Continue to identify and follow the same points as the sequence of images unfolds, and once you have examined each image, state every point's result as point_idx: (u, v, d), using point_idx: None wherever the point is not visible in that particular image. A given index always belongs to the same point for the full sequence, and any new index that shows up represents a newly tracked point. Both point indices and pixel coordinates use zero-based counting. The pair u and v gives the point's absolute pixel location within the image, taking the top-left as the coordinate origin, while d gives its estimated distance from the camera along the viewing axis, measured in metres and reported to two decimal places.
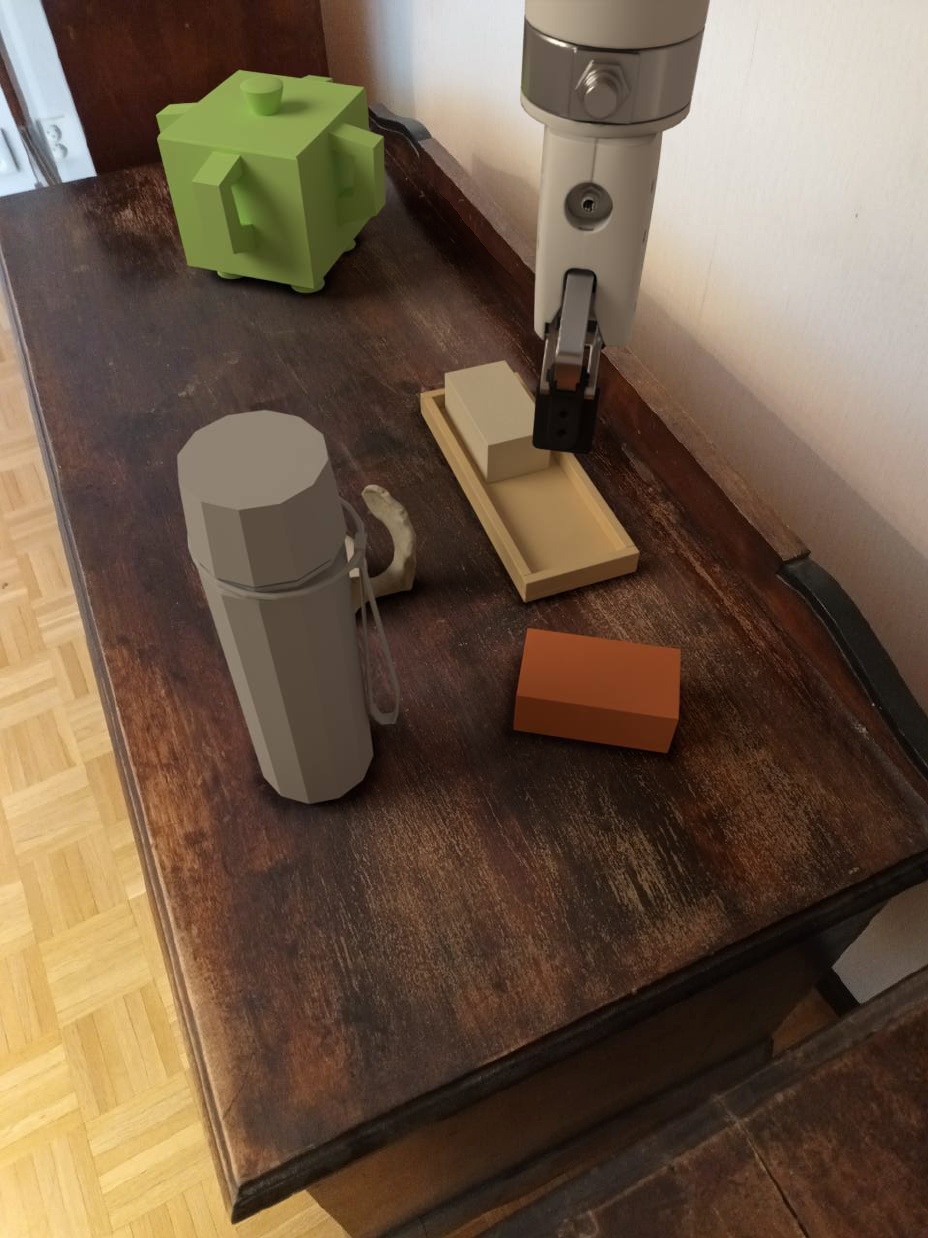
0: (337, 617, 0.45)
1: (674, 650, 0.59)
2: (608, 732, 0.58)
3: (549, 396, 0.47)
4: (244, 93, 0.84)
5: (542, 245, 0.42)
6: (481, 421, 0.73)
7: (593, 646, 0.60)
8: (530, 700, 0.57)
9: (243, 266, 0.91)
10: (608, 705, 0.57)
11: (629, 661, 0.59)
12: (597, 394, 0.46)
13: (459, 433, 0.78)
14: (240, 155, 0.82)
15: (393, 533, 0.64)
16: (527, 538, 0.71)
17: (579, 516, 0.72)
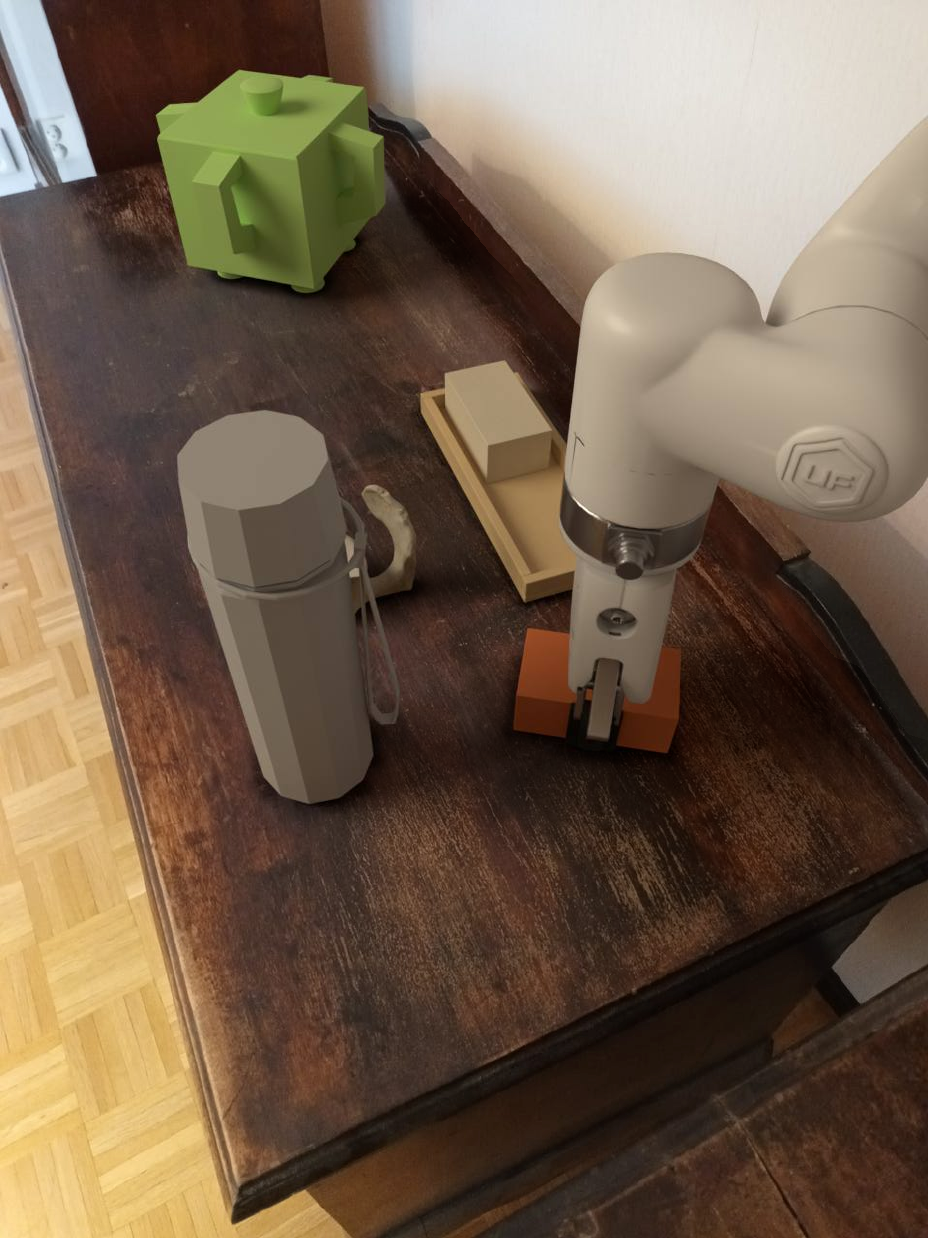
0: (337, 617, 0.45)
1: (674, 650, 0.59)
2: None
3: None
4: (244, 93, 0.84)
5: (577, 640, 0.49)
6: (481, 421, 0.73)
7: None
8: (530, 700, 0.57)
9: (243, 266, 0.91)
10: None
11: None
12: (621, 717, 0.56)
13: (459, 433, 0.78)
14: (240, 156, 0.82)
15: (393, 534, 0.64)
16: (527, 538, 0.71)
17: None
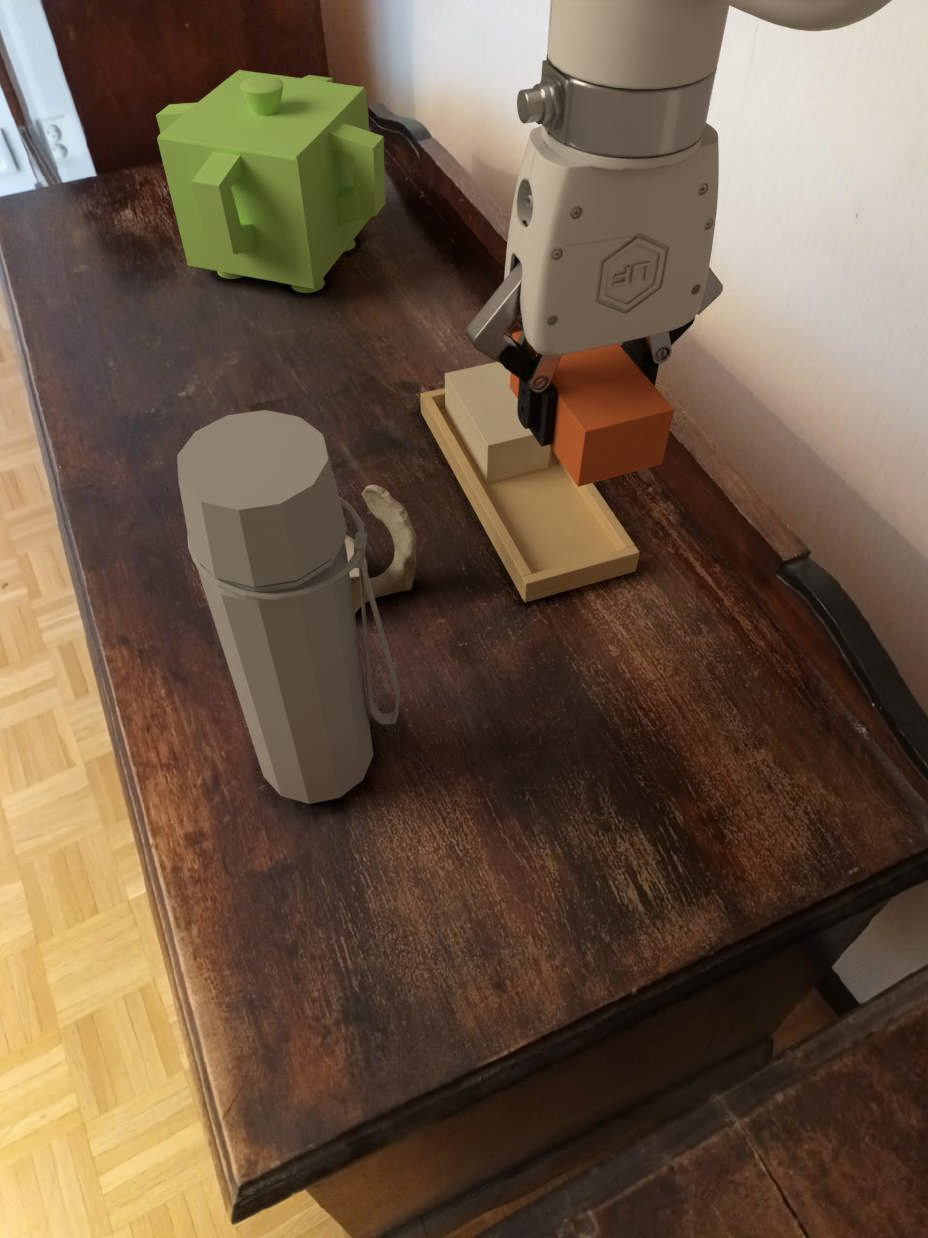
0: (337, 617, 0.45)
1: (667, 405, 0.51)
2: None
3: None
4: (244, 93, 0.84)
5: None
6: (481, 421, 0.73)
7: (615, 356, 0.54)
8: None
9: (243, 266, 0.91)
10: (555, 385, 0.52)
11: (621, 381, 0.52)
12: (547, 393, 0.51)
13: (459, 433, 0.78)
14: (240, 156, 0.82)
15: (393, 534, 0.64)
16: (527, 538, 0.71)
17: (579, 516, 0.72)
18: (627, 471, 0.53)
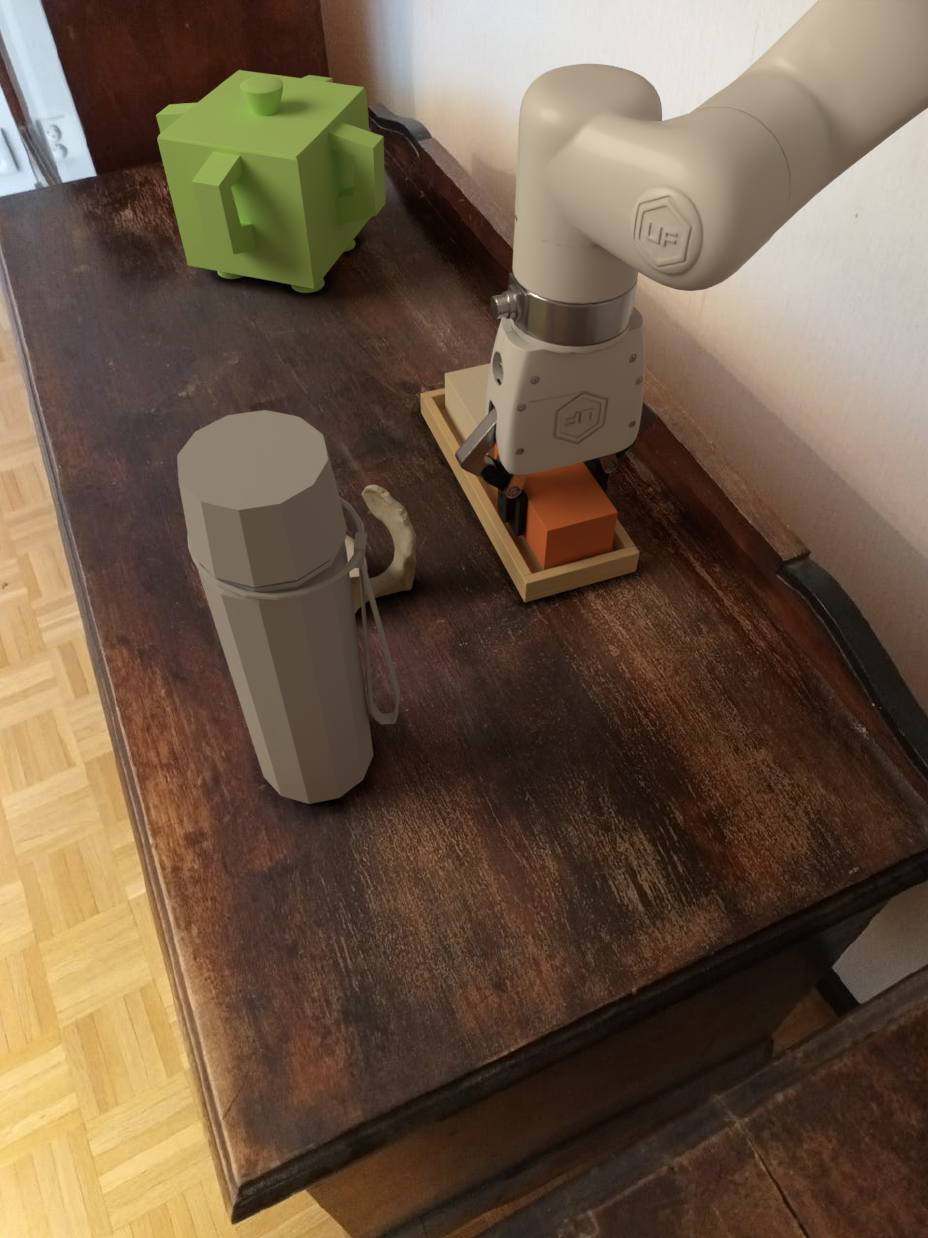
0: (337, 617, 0.45)
1: (612, 508, 0.65)
2: None
3: None
4: (244, 93, 0.84)
5: (488, 377, 0.61)
6: (481, 421, 0.73)
7: (574, 465, 0.68)
8: None
9: (243, 266, 0.91)
10: (526, 490, 0.67)
11: (578, 488, 0.67)
12: (519, 498, 0.66)
13: (459, 433, 0.78)
14: (240, 155, 0.82)
15: (393, 533, 0.64)
16: None
17: None
18: (583, 557, 0.68)
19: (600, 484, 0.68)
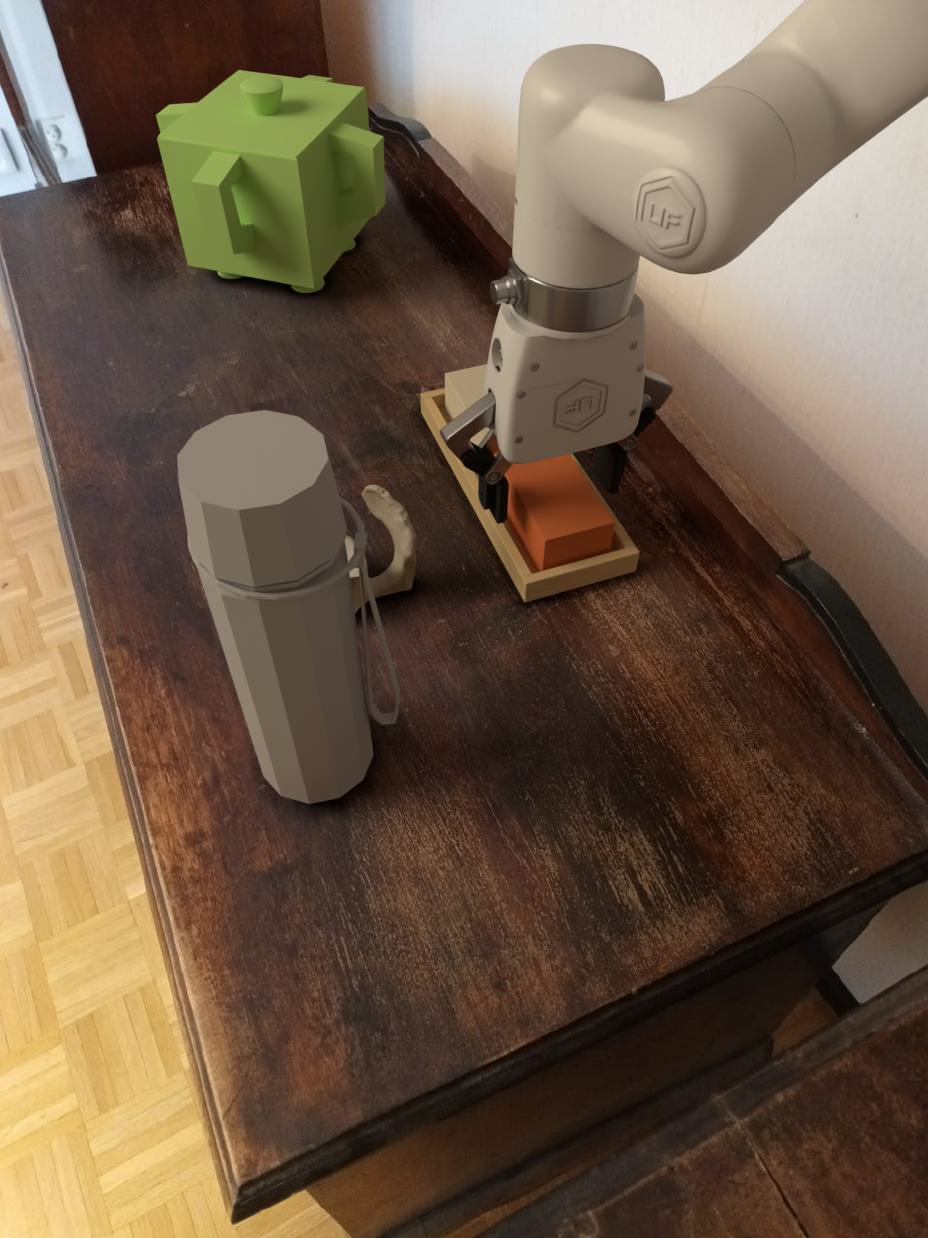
0: (337, 617, 0.45)
1: (610, 518, 0.66)
2: (521, 529, 0.69)
3: None
4: (244, 93, 0.84)
5: (487, 365, 0.60)
6: None
7: (572, 475, 0.69)
8: None
9: (243, 266, 0.91)
10: (524, 500, 0.67)
11: (576, 497, 0.68)
12: (499, 484, 0.64)
13: None
14: (240, 155, 0.82)
15: (393, 534, 0.64)
16: None
17: None
18: None
19: (619, 461, 0.67)
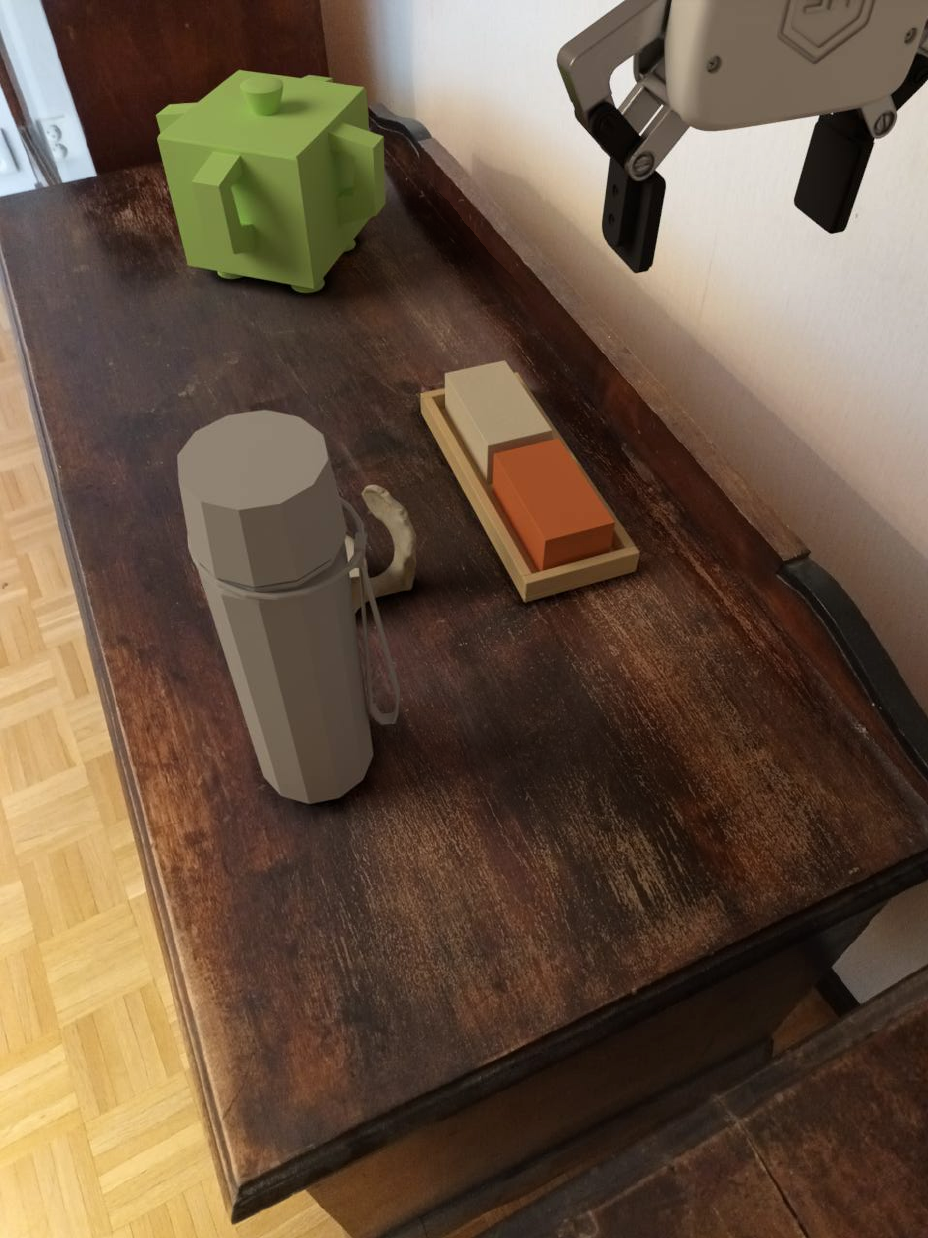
0: (337, 617, 0.45)
1: (610, 518, 0.66)
2: (521, 529, 0.69)
3: None
4: (244, 93, 0.84)
5: None
6: (481, 421, 0.73)
7: (572, 475, 0.69)
8: (497, 463, 0.70)
9: (243, 266, 0.91)
10: (524, 500, 0.67)
11: (576, 497, 0.68)
12: (651, 182, 0.36)
13: (459, 433, 0.78)
14: (240, 155, 0.82)
15: (393, 534, 0.64)
16: None
17: None
18: None
19: (861, 159, 0.39)
